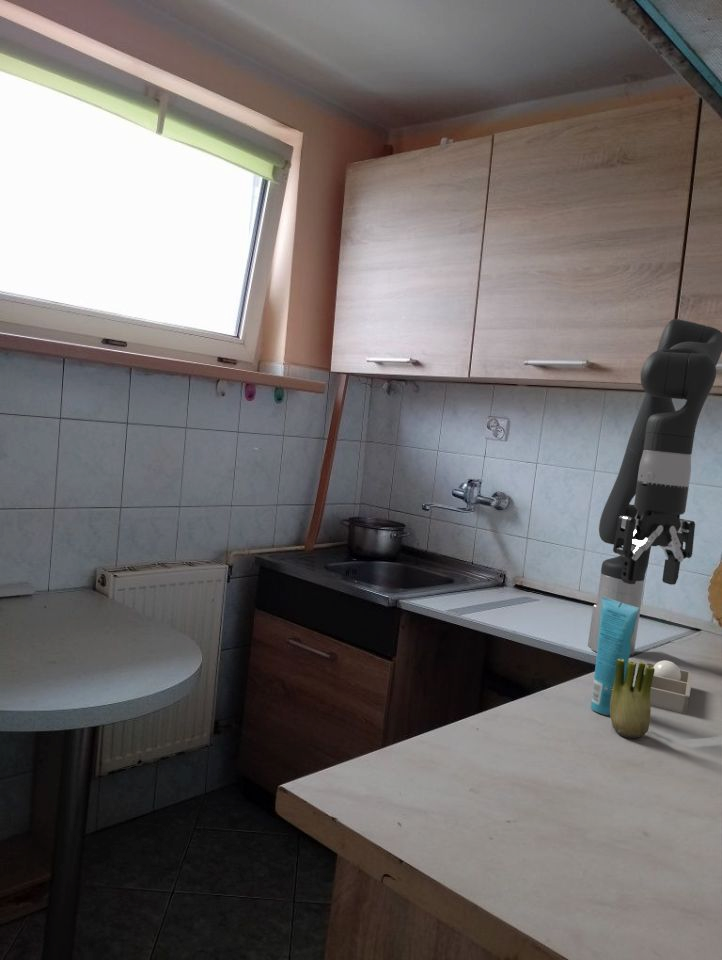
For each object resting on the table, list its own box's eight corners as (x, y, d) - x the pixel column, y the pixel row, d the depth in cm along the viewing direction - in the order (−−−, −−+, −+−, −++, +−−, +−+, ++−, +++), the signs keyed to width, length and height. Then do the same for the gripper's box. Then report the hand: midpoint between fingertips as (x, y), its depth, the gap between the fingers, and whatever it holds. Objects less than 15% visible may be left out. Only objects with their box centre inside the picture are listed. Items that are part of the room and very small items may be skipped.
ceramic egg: (643, 683, 145) (647, 657, 145) (663, 682, 147) (667, 656, 147) (664, 693, 140) (668, 666, 140) (685, 692, 143) (689, 665, 142)
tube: (631, 716, 129) (647, 606, 128) (616, 721, 126) (631, 608, 125) (594, 701, 135) (608, 595, 133) (578, 705, 132) (592, 597, 130)
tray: (641, 681, 150) (643, 661, 150) (689, 692, 146) (692, 672, 146) (632, 706, 134) (635, 684, 134) (686, 719, 131) (689, 697, 130)
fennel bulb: (602, 728, 122) (612, 656, 121) (624, 725, 125) (634, 654, 124) (630, 743, 117) (641, 668, 116) (652, 740, 120) (663, 666, 119)
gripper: (677, 481, 124) (663, 578, 126) (610, 475, 118) (597, 577, 120) (715, 487, 118) (700, 589, 119) (647, 481, 112) (632, 589, 113)
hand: (648, 583), depth 119 cm, fingers open, 8 cm apart
